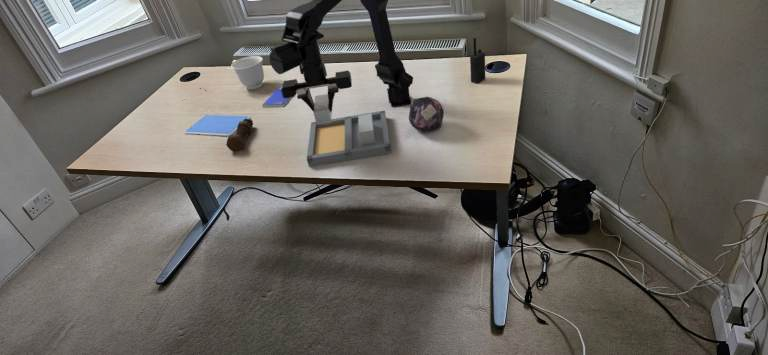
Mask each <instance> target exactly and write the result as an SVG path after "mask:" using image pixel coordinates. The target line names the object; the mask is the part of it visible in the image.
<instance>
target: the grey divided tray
mask: <svg viewBox="0 0 768 355" xmlns="http://www.w3.org/2000/svg"><path fill="white" fill-rule="evenodd" d="M308 138H309V139H308V145H307V153H306V161H307V165H308V167H316V166H322V165H326V164H327V165H328V164H333V163H340V162H345V161H352V160H358V159H364V158H372V157H378V156H384V155H390V154H392V149H391V142H390V136H389V128H388V123H387V117H386V110H381V111H374V112H367V113H362V114H361V113H360V114H354V115H349V116H343V117H338V118H337V117H336V118H331V123H326V124H320V125H317V124H316V121H312V122H311V123H310V130H309V137H308Z"/></svg>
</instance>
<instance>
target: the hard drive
mask: <svg viewBox="0 0 768 355" xmlns="http://www.w3.org/2000/svg"><path fill="white" fill-rule="evenodd" d="M291 99H292V97H291V98H283V96H282V93H281V88H277V89H275V90H274V92H272V93H271V95H269V97H268V98H267V99H266V100H265V101H264V102H263V104H262V105H261V106H262V108H276V107H277V108H281V107H282V108H284V107H285V106H286V105H287V103H288V102H290V100H291Z"/></svg>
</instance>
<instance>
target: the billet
mask: <svg viewBox="0 0 768 355" xmlns="http://www.w3.org/2000/svg"><path fill="white" fill-rule="evenodd" d="M313 102H314V111H312V112H313V116H314V119H315V122H316V124H317V125H320V124H326V123H331V119H332V116H333V115H332V113H333V111H332V112H331V111H330V108H329V100H328V93H326V94H321V95H320V94H319V95H315V96H314V101H313Z"/></svg>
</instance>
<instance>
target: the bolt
mask: <svg viewBox="0 0 768 355" xmlns="http://www.w3.org/2000/svg"><path fill="white" fill-rule="evenodd" d="M253 121H254V120H252V119H251V118H250V119H244V121H241V122H239V124H238V127H237V132H236V133H234V134H233V135H231V136H227V139H226V147H227V148H228V149H229V150H230V151H231V152H233V153H237V152H238V153H239V152H243V151H244V149H245V145H246V142H247V141H246V138H247V136H250V135H251V134H252V131H253V128H254V126H253V125H254V122H253Z"/></svg>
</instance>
